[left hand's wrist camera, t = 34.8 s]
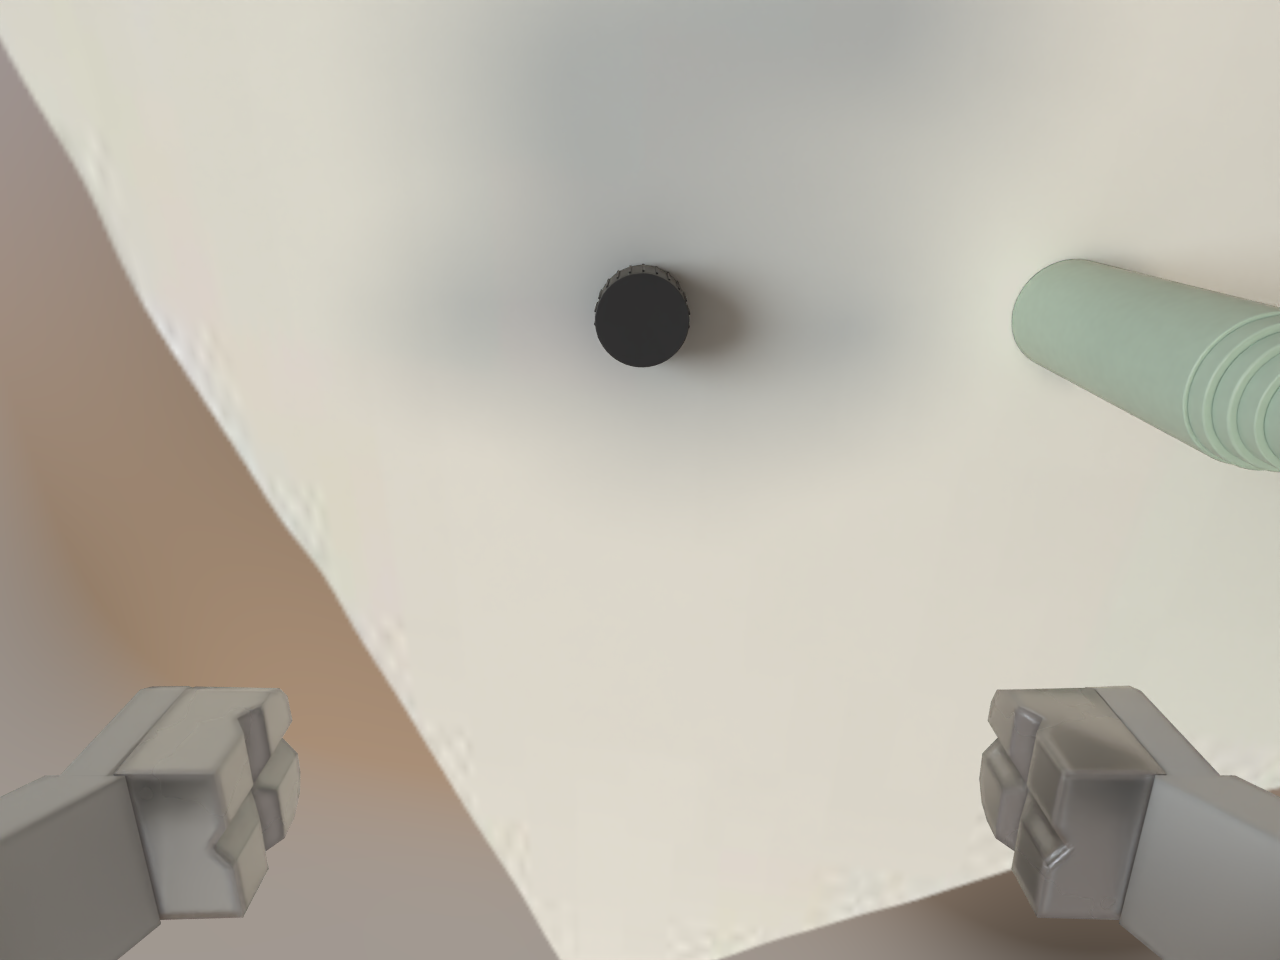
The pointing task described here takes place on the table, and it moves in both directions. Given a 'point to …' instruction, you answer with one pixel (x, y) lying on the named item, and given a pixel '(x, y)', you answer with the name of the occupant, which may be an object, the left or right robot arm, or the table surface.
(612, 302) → the cap
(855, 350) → the table surface
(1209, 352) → the bottle
